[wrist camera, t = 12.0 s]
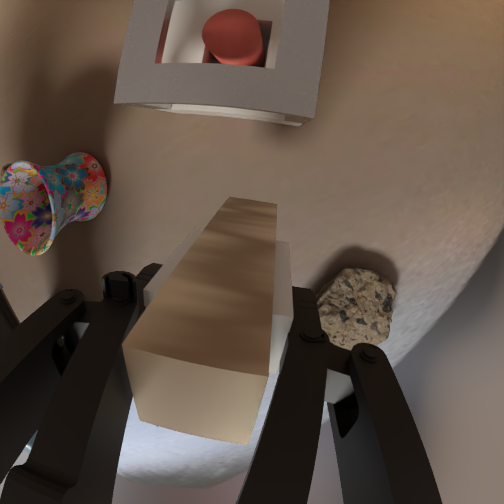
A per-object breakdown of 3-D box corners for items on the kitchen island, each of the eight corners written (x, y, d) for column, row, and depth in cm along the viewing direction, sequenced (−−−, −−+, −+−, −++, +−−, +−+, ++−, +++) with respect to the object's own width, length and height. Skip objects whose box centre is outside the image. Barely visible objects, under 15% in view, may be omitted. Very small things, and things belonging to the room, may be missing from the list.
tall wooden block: (224, 241, 22) (139, 420, 7) (229, 196, 21) (121, 344, 6) (269, 248, 22) (248, 444, 7) (277, 204, 21) (268, 376, 6)
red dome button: (218, 75, 23) (197, 54, 16) (225, 38, 21) (207, 8, 14) (261, 78, 23) (255, 58, 16) (267, 41, 21) (263, 10, 14)
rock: (407, 299, 32) (420, 319, 28) (340, 354, 36) (346, 377, 32) (354, 244, 30) (365, 262, 26) (282, 312, 34) (282, 336, 30)
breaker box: (178, 113, 26) (154, 109, 20) (196, 11, 21) (178, -12, 16) (297, 126, 26) (303, 123, 20) (313, 20, 21) (320, -4, 15)
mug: (126, 174, 29) (66, 196, 19) (95, 236, 32) (42, 274, 22) (62, 124, 27) (-1, 131, 17) (38, 185, 30) (-18, 207, 20)
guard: (154, 109, 20) (113, 103, 14) (178, -12, 16) (150, -46, 10) (303, 123, 20) (314, 118, 14) (320, -4, 15) (333, -43, 9)
